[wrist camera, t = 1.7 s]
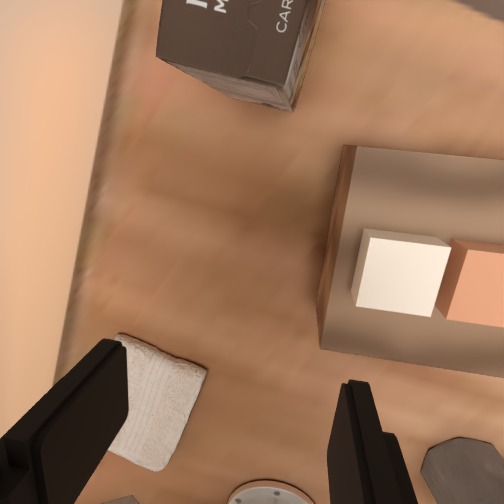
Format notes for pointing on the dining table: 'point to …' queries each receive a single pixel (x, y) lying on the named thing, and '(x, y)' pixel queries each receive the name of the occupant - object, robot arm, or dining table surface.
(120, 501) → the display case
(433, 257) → the tile
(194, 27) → the coffee box
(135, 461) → the washcloth
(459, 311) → the tile
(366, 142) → the dining table surface
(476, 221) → the block
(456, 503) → the coffeepot
